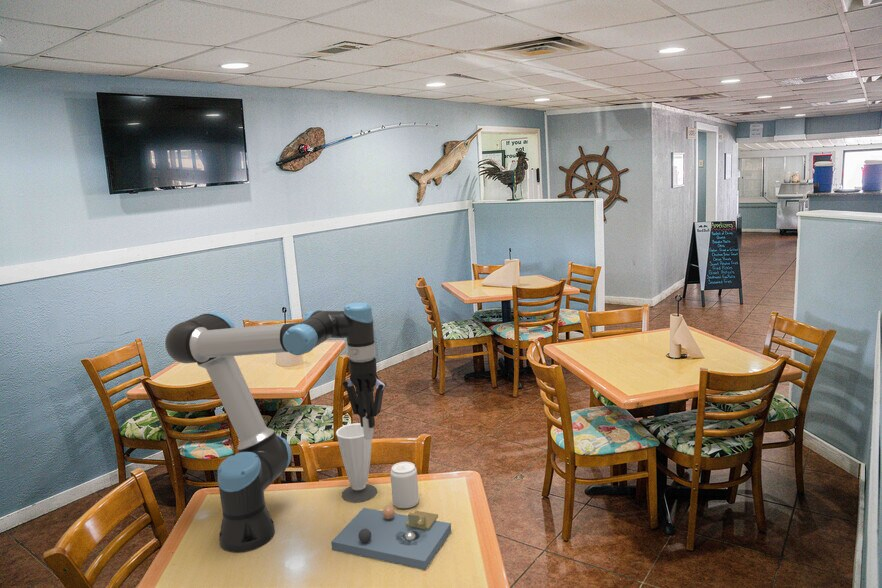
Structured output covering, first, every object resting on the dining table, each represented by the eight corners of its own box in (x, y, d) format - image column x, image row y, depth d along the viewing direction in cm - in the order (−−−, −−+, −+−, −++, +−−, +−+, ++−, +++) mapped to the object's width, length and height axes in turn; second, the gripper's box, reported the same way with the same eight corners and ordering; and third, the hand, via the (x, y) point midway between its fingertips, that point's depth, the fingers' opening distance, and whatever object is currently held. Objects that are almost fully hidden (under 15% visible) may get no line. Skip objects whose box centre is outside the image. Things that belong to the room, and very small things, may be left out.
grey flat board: (331, 549, 167) (331, 541, 167) (364, 515, 184) (363, 507, 183) (425, 570, 157) (424, 561, 156) (451, 531, 173) (450, 523, 172)
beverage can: (415, 510, 184) (412, 474, 182) (389, 509, 186) (386, 472, 184) (421, 496, 192) (419, 461, 190) (396, 495, 194) (394, 460, 191)
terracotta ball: (380, 520, 176) (379, 509, 175) (386, 514, 179) (385, 503, 178) (391, 522, 174) (390, 511, 174) (397, 516, 177) (396, 505, 177)
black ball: (356, 543, 165) (355, 532, 164) (363, 536, 168) (361, 525, 168) (367, 546, 164) (366, 534, 163) (374, 538, 167) (373, 527, 166)
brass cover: (405, 526, 172) (404, 513, 171) (416, 513, 178) (415, 501, 177) (428, 530, 169) (427, 517, 168) (438, 516, 176) (437, 504, 175)
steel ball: (413, 538, 165) (413, 549, 166) (418, 530, 168) (418, 542, 169) (401, 534, 166) (401, 545, 167) (407, 527, 169) (406, 538, 170)
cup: (364, 480, 204) (359, 419, 200) (384, 493, 196) (379, 429, 192) (334, 493, 197) (328, 430, 193) (353, 506, 189) (347, 441, 184)
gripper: (334, 360, 169) (342, 440, 174) (376, 364, 164) (383, 445, 169) (348, 353, 176) (355, 429, 181) (389, 355, 171) (395, 434, 176)
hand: (368, 437), depth 175 cm, fingers closed
